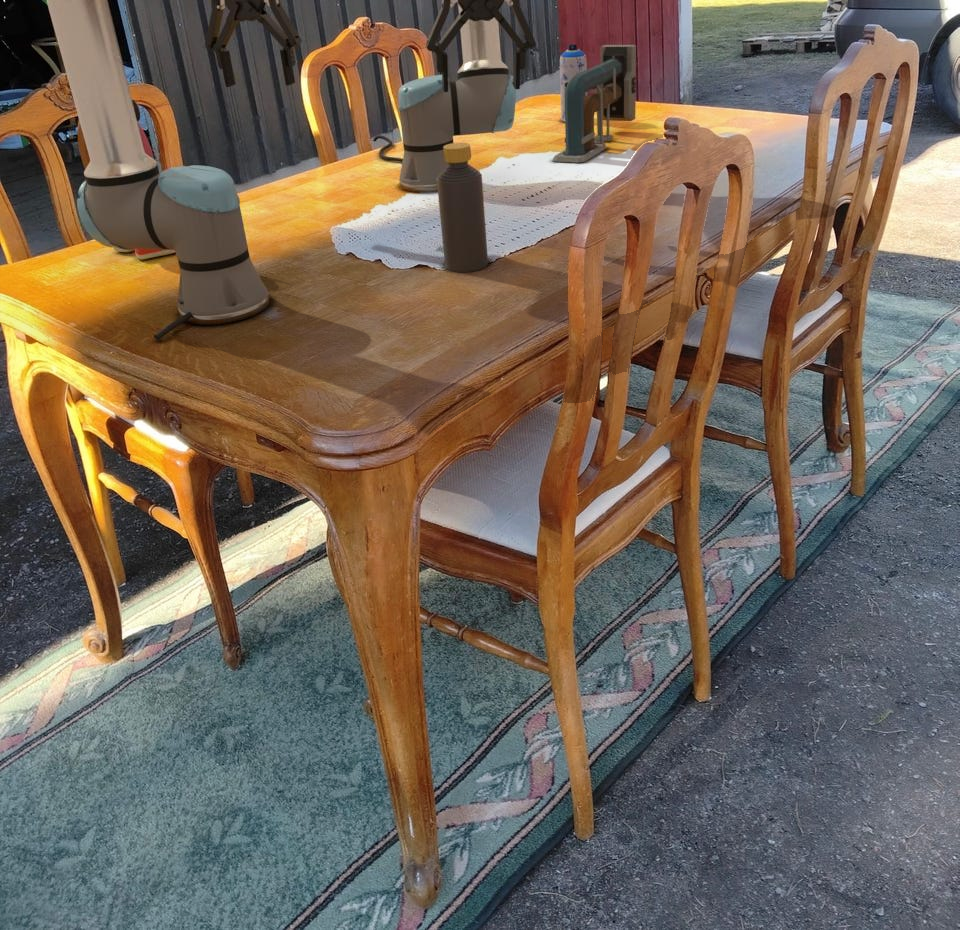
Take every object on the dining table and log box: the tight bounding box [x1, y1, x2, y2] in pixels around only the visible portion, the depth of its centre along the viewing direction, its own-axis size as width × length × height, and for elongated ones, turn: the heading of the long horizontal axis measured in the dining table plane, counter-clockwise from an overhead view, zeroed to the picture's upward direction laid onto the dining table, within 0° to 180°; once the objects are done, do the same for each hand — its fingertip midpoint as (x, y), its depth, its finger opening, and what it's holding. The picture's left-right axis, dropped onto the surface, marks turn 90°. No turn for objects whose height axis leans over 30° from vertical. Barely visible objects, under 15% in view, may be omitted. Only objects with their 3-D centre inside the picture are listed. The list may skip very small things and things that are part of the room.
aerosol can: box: [559, 43, 588, 123], centre depth 273 cm, size 8×8×20 cm
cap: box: [443, 142, 472, 163], centre depth 166 cm, size 5×5×2 cm
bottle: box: [437, 161, 489, 273], centre depth 171 cm, size 8×8×21 cm
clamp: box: [552, 44, 637, 164], centre depth 243 cm, size 35×9×21 cm, turn 151°
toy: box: [77, 99, 176, 260], centre depth 191 cm, size 21×10×30 cm, turn 47°
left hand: (260, 85), depth 196 cm, fingers open, 13 cm apart
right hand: (481, 89), depth 182 cm, fingers open, 13 cm apart
